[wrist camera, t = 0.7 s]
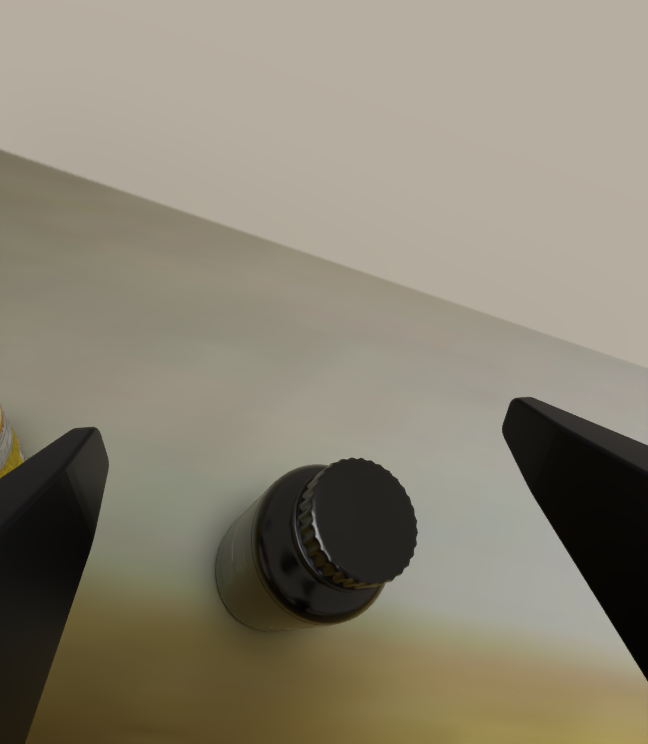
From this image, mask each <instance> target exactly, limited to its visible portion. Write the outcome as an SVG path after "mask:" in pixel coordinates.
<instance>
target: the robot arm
mask: <svg viewBox="0 0 648 744" xmlns="http://www.w3.org/2000/svg"><path fill="white" fill-rule="evenodd" d="M502 433H503V436H504V438H505V440H506V443H507V445H508V447H509V449H510V451H511V453H512V455H513V457H514V459H515V461H516V463H517V465H518V467H519V469H520V471H521V473H522V475H523V477H524V479H525V481H526V483H527V485H528V487H529V489H530V491H531V493H532V495H533V496H534V498H535V500H536V501H537V503H538V505H539V506H540V508H541V509H542V511H543V513H544V514H545V516H546V518H547V519H548V521H549V522H550V524H551V526H552V527H553V529H554V530H555V532H556V534H557V535H558V537H559V539H560V540H561V542H562V543H563V545H564V547H565V548H566V550H567V552H568V553H569V555H570V556H571V558H572V560H573V561H574V563H575V564H576V566H577V568H578V569H579V571H580V573H581V574H582V576H583V577H584V579H585V581H586V582H587V584H588V585H589V587H590V589H591V590H592V592H593V594H594V595H595V597H596V598H597V600H598V602H599V603H600V605H601V607H602V608H603V610H604V611H605V613H606V615H607V616H608V618H609V619H610V621H611V623H612V624H613V626H614V628H615V629H616V631H617V632H618V634H619V636H620V637H621V639H622V641H623V642H624V644H625V645H626V647H627V649H628V650H629V652H630V653H631V655H632V657H633V658H634V660H635V662H636V663H637V665H638V666H639V668H640V670H641V671H642V673H643V675H644V676H645V678H646V679H647V681H648V445H646V444H643V443H641V442H638V441H636V440H633V439H631V438H629V437H626V436H624V435H621V434H619V433H617V432H614V431H612V430H609V429H607V428H605V427H602V426H600V425H597V424H595V423H593V422H590V421H588V420H585V419H583V418H581V417H578V416H576V415H573V414H571V413H569V412H566V411H564V410H561V409H559V408H556V407H554V406H552V405H549V404H547V403H544V402H542V401H540V400H537V399H535V398H532V397H521V398H515V399H513V400H512V401H511V402H510V404H509V407H508V410H507V413H506V416H505V419H504V422H503V426H502ZM108 469H109V461H108V456H107V453H106V450H105V446H104V443H103V440H102V437H101V434H100V431H99V430H98V429H97V428H95V427H83V428H74V429H72V430H70V431H69V432H67V433H66V434H64V435H63V436H61V437H60V438H58V439H57V440H55V441H54V442H53V443H51V444H50V445H48V446H47V447H45V448H44V449H42V450H41V451H39V452H38V453H36V454H35V455H33V456H32V457H30V458H29V459H28V460H26V461H25V462H23V463H22V464H20V465H19V466H17V467H16V468H14V469H13V470H11V471H10V472H8V473H7V474H5V475H4V476H3V477H1V478H0V744H25V742H26V739H27V736H28V733H29V730H30V727H31V724H32V721H33V718H34V715H35V712H36V710H37V707H38V704H39V701H40V698H41V695H42V692H43V689H44V686H45V683H46V680H47V677H48V674H49V671H50V668H51V665H52V662H53V659H54V656H55V653H56V650H57V647H58V644H59V641H60V638H61V636H62V633H63V630H64V627H65V624H66V621H67V618H68V615H69V612H70V609H71V606H72V603H73V600H74V597H75V594H76V591H77V588H78V585H79V582H80V579H81V576H82V573H83V570H84V567H85V564H86V562H87V559H88V556H89V553H90V549H91V546H92V543H93V539H94V535H95V531H96V527H97V522H98V517H99V512H100V507H101V503H102V498H103V493H104V488H105V484H106V479H107V474H108Z"/></svg>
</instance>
